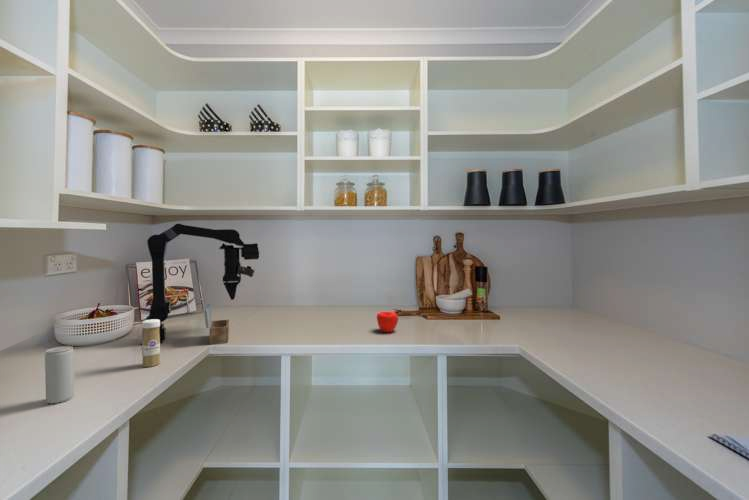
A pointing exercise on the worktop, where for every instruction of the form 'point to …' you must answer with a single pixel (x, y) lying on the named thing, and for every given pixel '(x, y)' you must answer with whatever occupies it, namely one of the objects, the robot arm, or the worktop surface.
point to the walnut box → (219, 332)
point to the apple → (387, 321)
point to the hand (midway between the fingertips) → (233, 298)
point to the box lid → (207, 316)
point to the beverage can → (59, 374)
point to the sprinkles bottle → (150, 342)
